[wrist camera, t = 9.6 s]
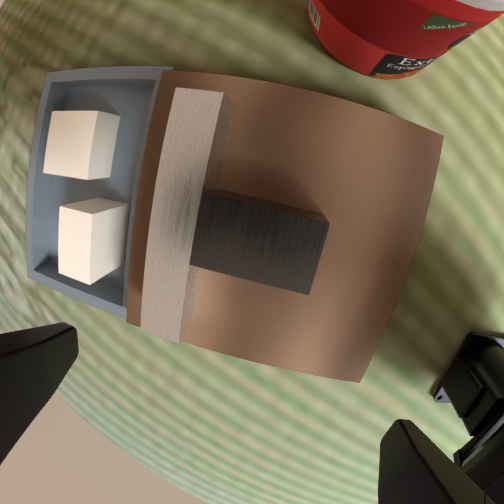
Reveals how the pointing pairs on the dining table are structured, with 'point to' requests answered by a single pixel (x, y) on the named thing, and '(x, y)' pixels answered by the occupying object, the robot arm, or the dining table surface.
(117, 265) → the tile
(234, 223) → the scraper
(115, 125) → the tile
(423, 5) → the canned food
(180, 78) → the plate
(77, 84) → the box
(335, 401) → the dining table surface
